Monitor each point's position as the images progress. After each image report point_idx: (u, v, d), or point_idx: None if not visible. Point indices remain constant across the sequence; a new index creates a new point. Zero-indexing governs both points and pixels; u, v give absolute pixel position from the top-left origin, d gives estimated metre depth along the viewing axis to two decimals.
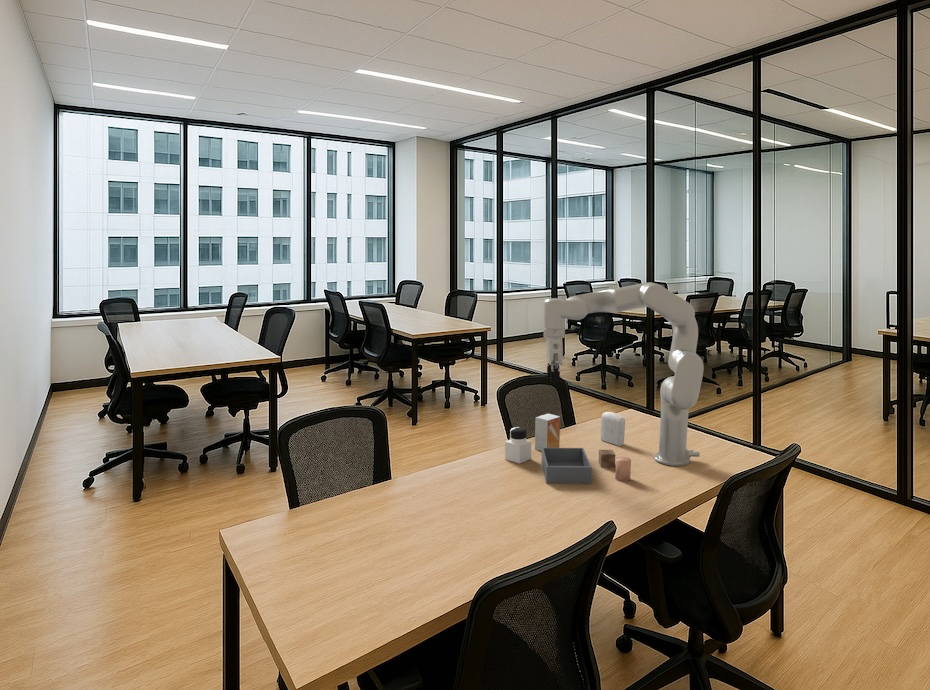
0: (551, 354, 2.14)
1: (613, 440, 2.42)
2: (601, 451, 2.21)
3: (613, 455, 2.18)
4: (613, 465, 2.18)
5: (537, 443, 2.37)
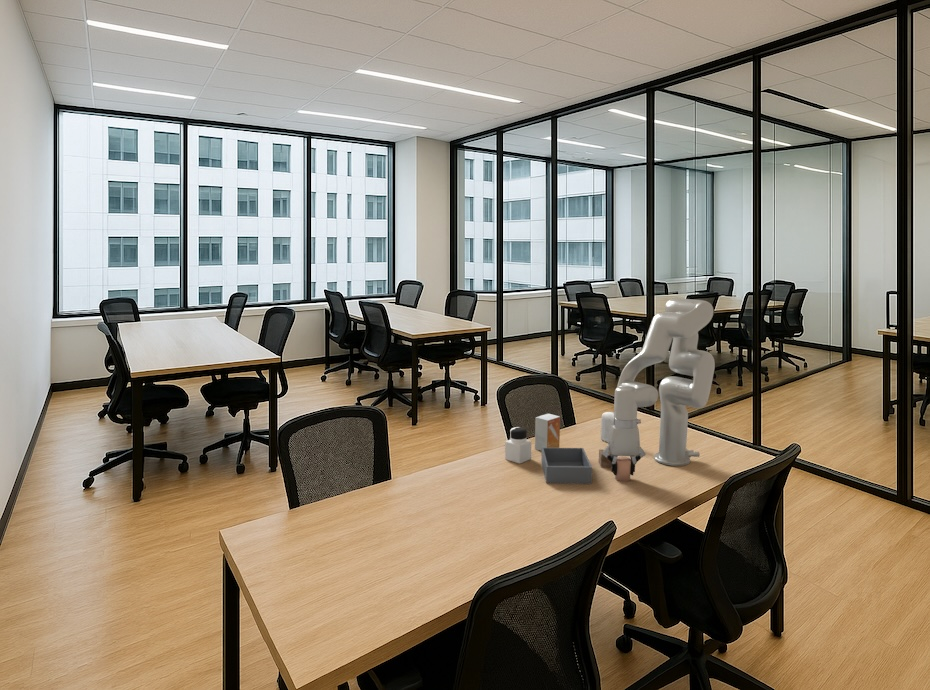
0: (639, 444, 2.04)
1: None
2: (601, 451, 2.21)
3: None
4: None
5: (537, 443, 2.37)
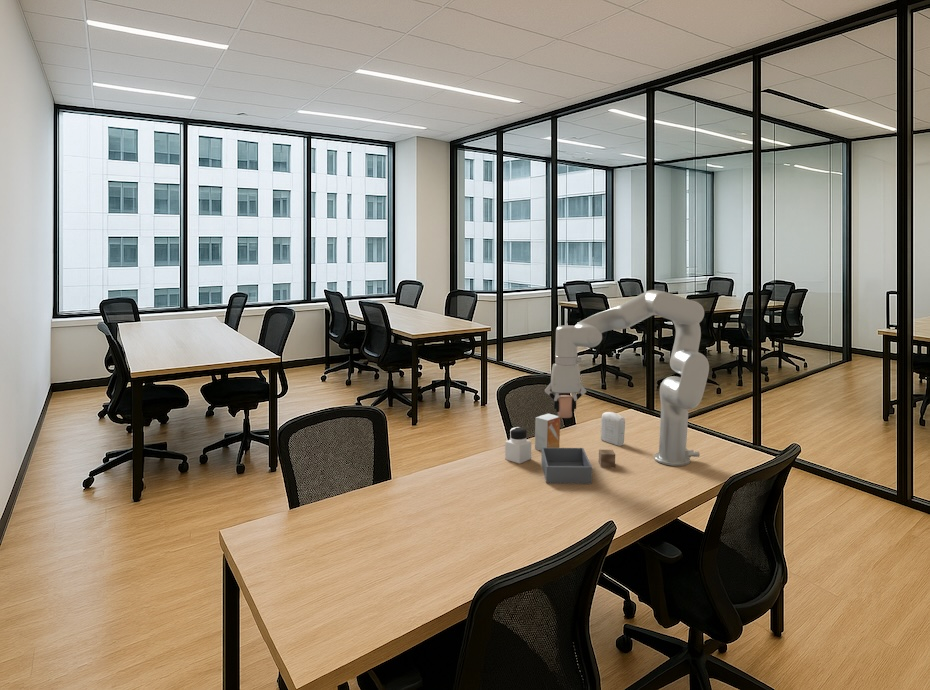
0: None
1: (613, 440, 2.42)
2: (601, 451, 2.21)
3: (613, 455, 2.18)
4: (613, 465, 2.18)
5: (537, 443, 2.37)
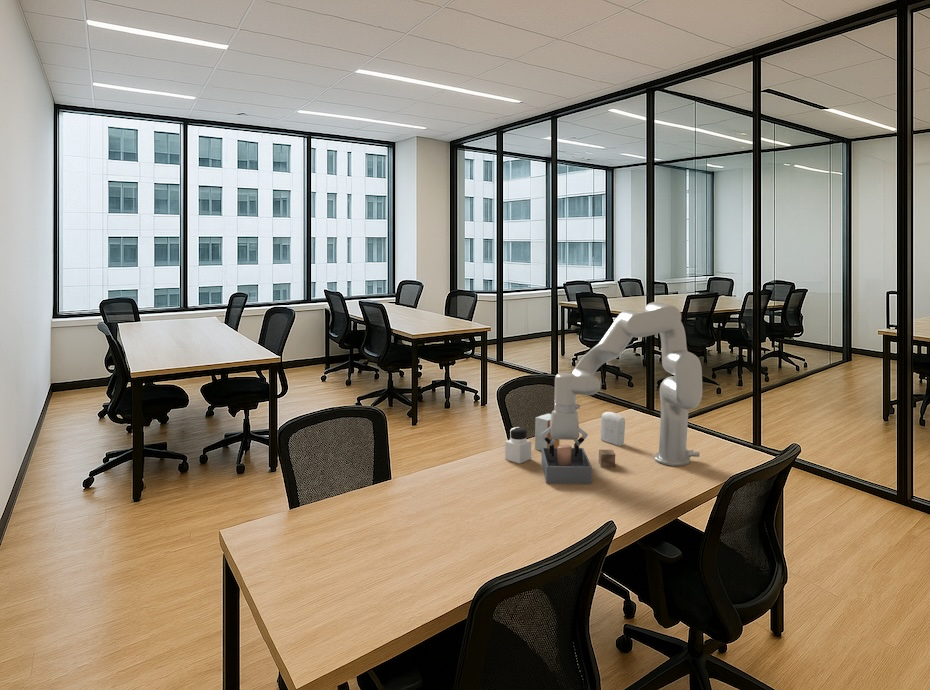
0: (578, 428, 2.14)
1: (613, 440, 2.42)
2: (601, 451, 2.21)
3: (613, 455, 2.18)
4: (613, 465, 2.18)
5: (537, 443, 2.37)
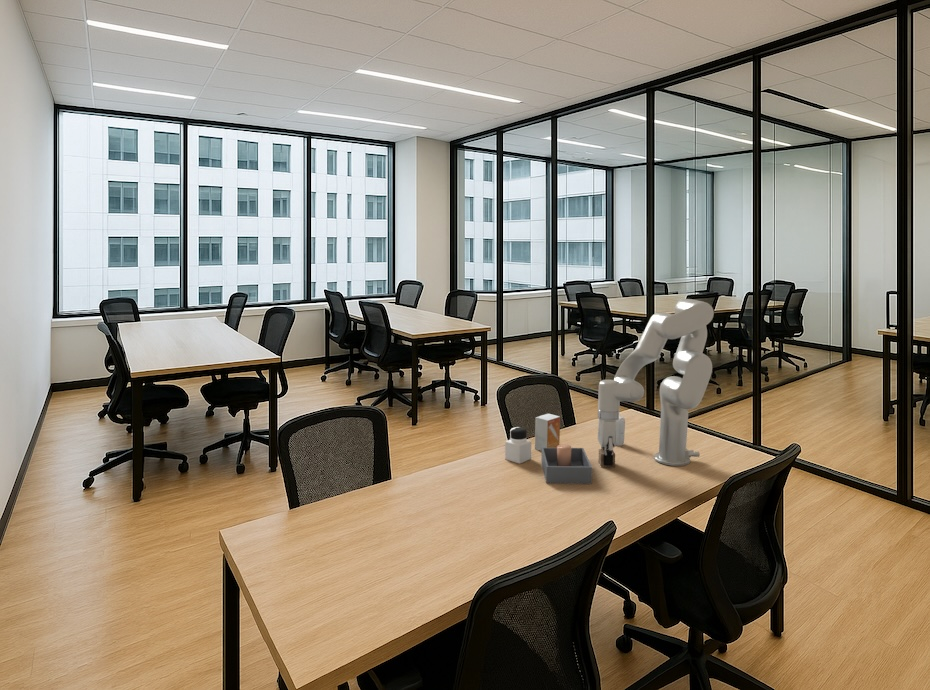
0: None
1: None
2: (601, 451, 2.21)
3: (613, 455, 2.18)
4: (613, 465, 2.18)
5: (537, 443, 2.37)
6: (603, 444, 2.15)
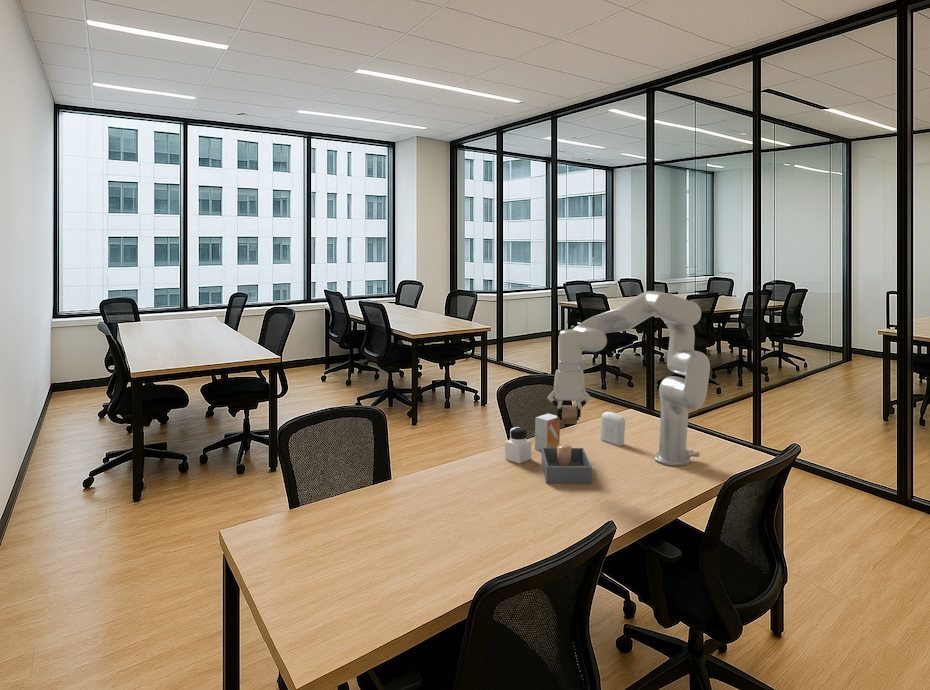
0: (584, 388, 2.02)
1: (613, 440, 2.42)
2: (569, 405, 2.06)
3: (562, 410, 2.03)
4: (561, 421, 2.04)
5: (537, 443, 2.37)
6: None
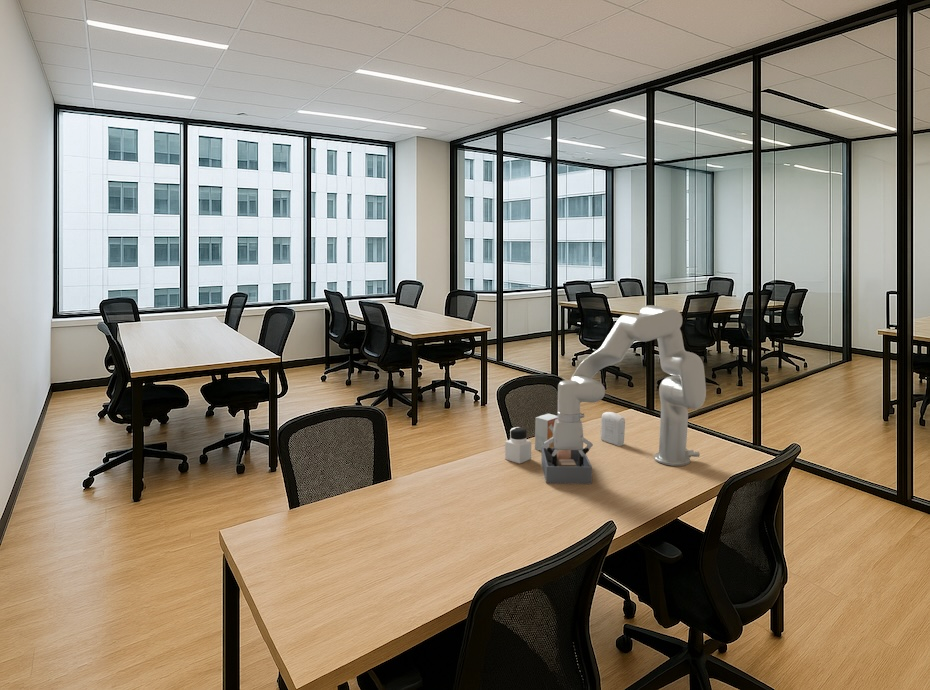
0: (583, 438, 2.05)
1: (613, 440, 2.42)
2: (567, 460, 2.10)
3: (560, 465, 2.06)
4: None
5: (537, 443, 2.37)
6: None
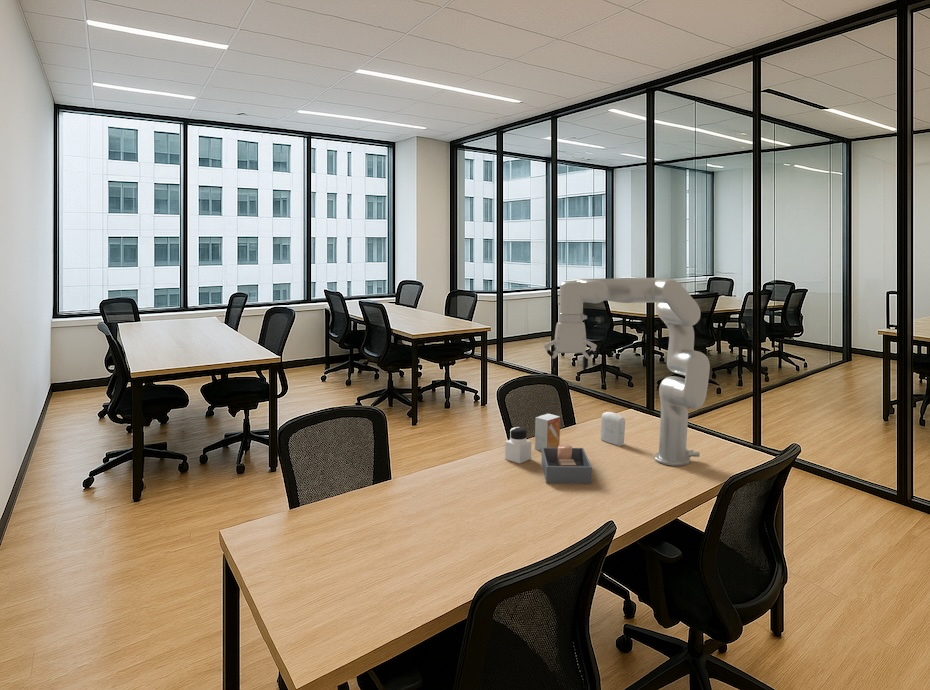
0: (586, 340, 1.99)
1: (613, 440, 2.42)
2: (567, 460, 2.10)
3: (560, 465, 2.06)
4: None
5: (537, 443, 2.37)
6: None
